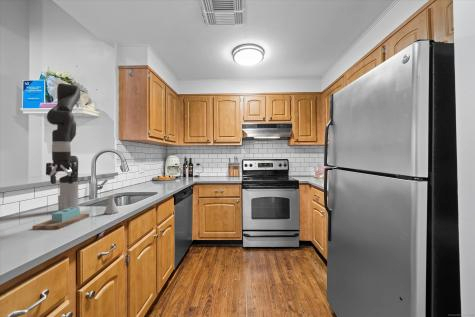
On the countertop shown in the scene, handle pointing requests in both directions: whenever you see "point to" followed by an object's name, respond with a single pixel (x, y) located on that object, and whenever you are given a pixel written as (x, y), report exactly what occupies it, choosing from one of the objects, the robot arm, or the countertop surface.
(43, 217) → the countertop surface
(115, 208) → the flask
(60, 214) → the teal slotted block
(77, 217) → the jig
